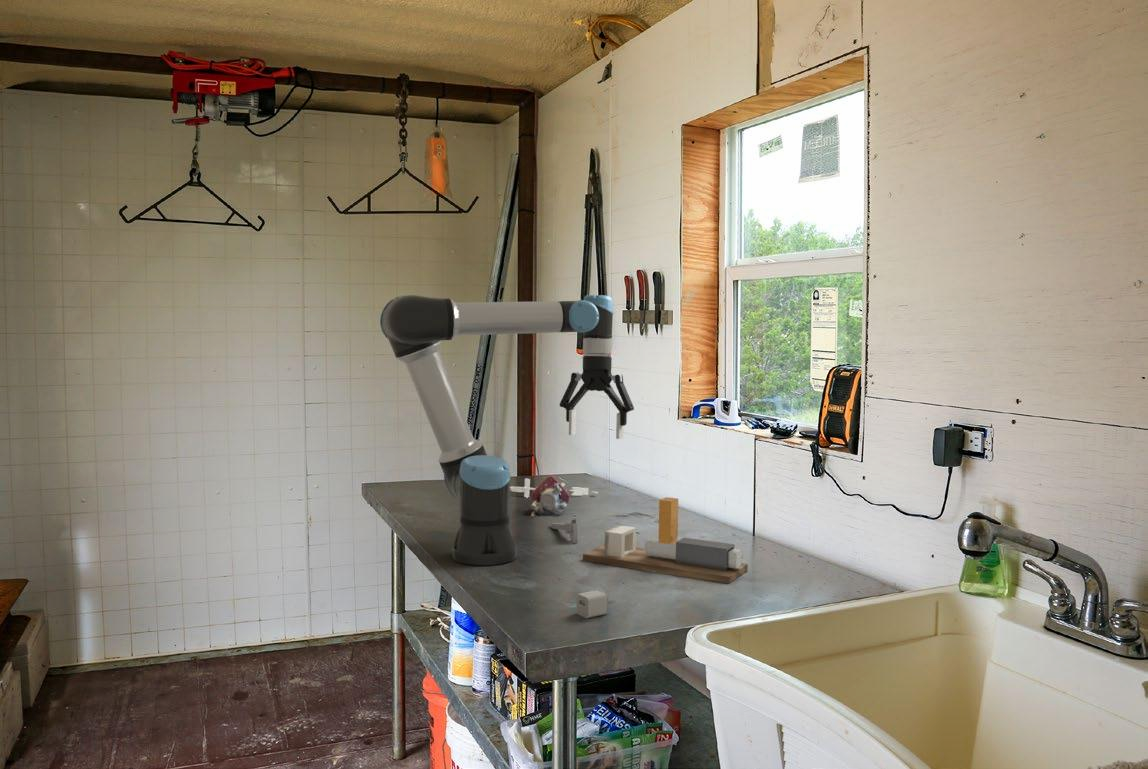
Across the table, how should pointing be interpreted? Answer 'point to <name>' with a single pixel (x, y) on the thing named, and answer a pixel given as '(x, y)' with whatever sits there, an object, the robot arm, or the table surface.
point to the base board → (663, 565)
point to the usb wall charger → (592, 604)
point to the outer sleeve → (702, 554)
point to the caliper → (567, 529)
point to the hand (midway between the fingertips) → (595, 436)
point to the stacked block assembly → (676, 535)
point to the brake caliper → (549, 498)
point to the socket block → (620, 541)
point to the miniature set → (576, 491)
